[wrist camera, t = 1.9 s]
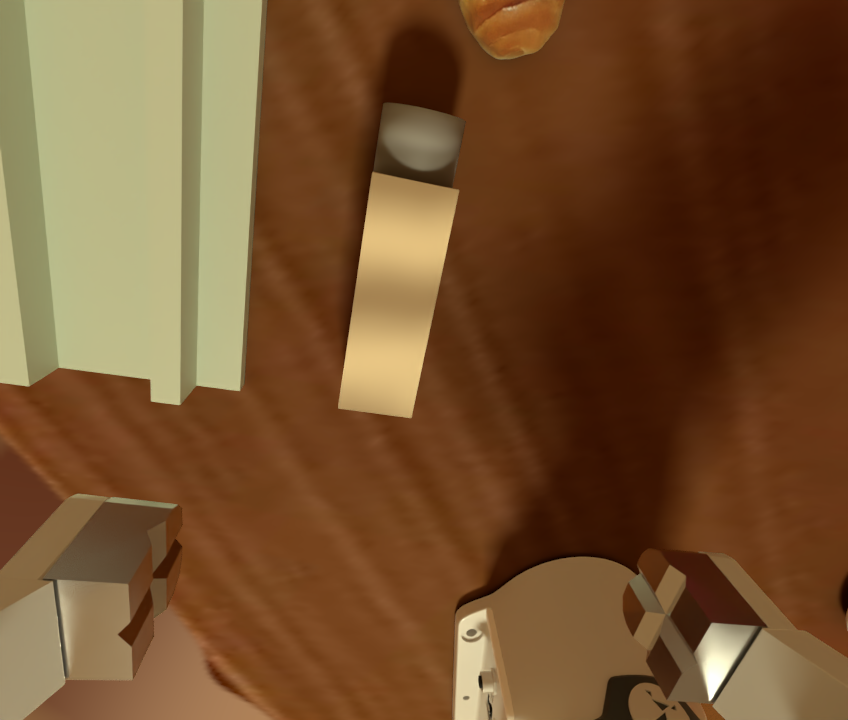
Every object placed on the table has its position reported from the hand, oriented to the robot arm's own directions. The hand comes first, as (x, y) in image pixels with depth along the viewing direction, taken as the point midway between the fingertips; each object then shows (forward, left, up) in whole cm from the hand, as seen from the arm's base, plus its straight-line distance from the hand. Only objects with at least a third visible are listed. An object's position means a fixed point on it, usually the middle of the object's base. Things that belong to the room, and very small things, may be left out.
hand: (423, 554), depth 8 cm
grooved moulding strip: (+3, +15, -21) cm, 26 cm away
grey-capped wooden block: (+1, 0, -22) cm, 22 cm away
